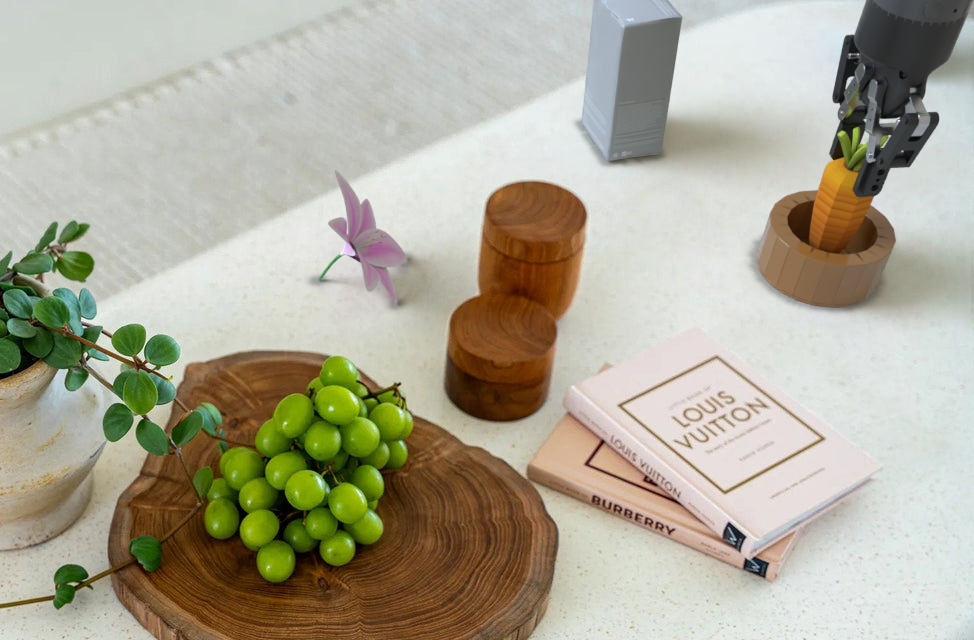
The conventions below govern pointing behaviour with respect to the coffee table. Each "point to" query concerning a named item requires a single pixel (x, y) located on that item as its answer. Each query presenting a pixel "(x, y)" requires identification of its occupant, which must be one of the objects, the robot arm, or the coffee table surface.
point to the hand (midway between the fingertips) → (852, 175)
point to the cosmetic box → (630, 75)
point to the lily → (366, 241)
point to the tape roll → (822, 255)
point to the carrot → (840, 198)
